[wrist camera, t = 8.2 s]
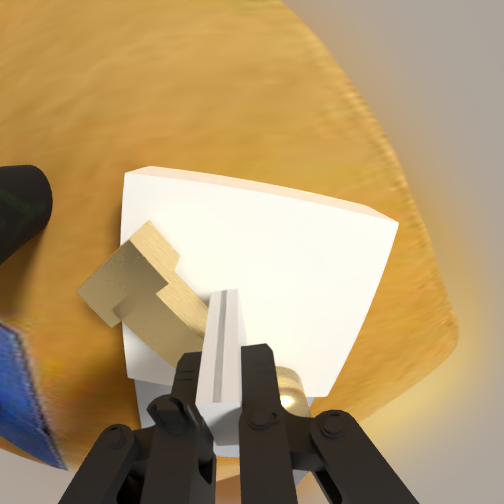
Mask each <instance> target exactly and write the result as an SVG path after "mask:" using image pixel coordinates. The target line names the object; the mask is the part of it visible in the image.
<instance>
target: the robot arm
mask: <svg viewBox="0 0 504 504" xmlns="http://www.w3.org/2000/svg"><path fill="white" fill-rule="evenodd" d="M146 410H147V412H148V413H149V415H150V416H151V418H152V419H153V421H154V422H155V425H153V426H150V427H147V428H143V429H138V430H134V431H132V430H131V429H130V428H129V427H128V426H126V425H123V424H115V425H111V426H109V427H107V428H106V429H105V430H104V431H103V432H102V433H101V434H100V436H99V438H98V439H97V441H96V442H95V444H94V446H93V447H92V449H91V450H90V452H89V453H88V455H87V457H86V458H85V460H84V462H83V463H82V465H81V466H80V468H79V470H78V471H77V473H76V474H75V476H74V478H73V479H72V481H71V483H70V484H69V486H68V488H67V489H66V491H65V493H64V494H63V496H62V498H61V500H60V501H59V503H58V504H215V488H216V463H217V459H216V455H215V453H214V451H213V446H214V442H215V443H216V445H217V446H229V445H239V457H240V482H241V504H298V501H297V495H296V489H295V483H294V477H293V471H292V469H294V470H302V471H311V472H312V473H313V475H314V477H315V479H316V480H317V482H318V484H319V486H320V488H321V490H322V491H323V493H324V495H325V497H326V498H327V500H328V502H329V503H330V504H419V503H418V501H417V500H416V499H415V498H414V496H413V495H412V494H411V492H410V491H409V490H408V489H407V487H406V486H405V485H404V483H403V482H402V481H401V479H400V478H399V477H398V476H397V474H396V473H395V472H394V471H393V469H392V468H391V467H390V465H389V464H388V463H387V461H386V460H385V459H384V457H383V456H382V455H381V453H380V452H379V451H378V449H377V448H376V447H375V445H374V444H373V443H372V441H371V440H370V439H369V438H368V436H367V435H366V434H365V432H364V431H363V430H362V428H361V427H360V426H359V424H358V423H357V422H356V420H355V419H354V418H353V417H352V416H351V415H350V414H349V413H347V412H344V411H342V410H328V411H324V412H322V413H320V414H319V415H317V416H316V417H315V418H311V417H301V416H296V415H294V414H291V413H289V412H288V411H287V410H286V409H285V408H284V407H283V405H282V403H281V399H280V392H279V386H278V380H277V373H276V367H275V361H274V354H273V350H272V349H271V348H270V347H269V346H268V344H267V343H263V344H256V345H248V346H247V333H246V328H245V323H244V318H243V313H242V308H241V303H240V297H239V292H238V288H236V289H229V290H222V291H214V292H211V298H210V304H209V310H208V317H207V323H206V330H205V337H204V344H203V350H202V351H200V352H188V353H184V354H183V356H182V357H181V358H180V359H179V361H178V363H177V367H176V374H175V376H174V382H173V385H172V390H171V394H166V395H161V396H159V397H157V398H155V399H154V400H153V401H152V402H150V403H149V405H148V407H147V409H146Z"/></svg>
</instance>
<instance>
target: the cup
mask: <svg viewBox="0 0 504 504" xmlns="http://www.w3.org/2000/svg"><path fill="white" fill-rule="evenodd" d="M52 202H53V200H52V191H51V188H50V184H49V182H48V180H47V178H46V176H45V175H44V173H43V172H42V171H41V170H40V169H38V168H37V167H35V166H32V165H18V166H4V167H0V265H1V264H2V263H3V262H4V261H5V260H6V259H7V258H8V257H10V256H11V255H12V254H13V253H14V252H15V251H16V250H18V249H19V248H20V247H21V246H22V245H23V244H25V243H26V242H27V241H28V240H30V239H31V238H32V237H33V236H34V235H36V234H37V233H38V232H40V231H41V230H42V229H43V228H44V227H45V226H46V225H47V223H48V221H49V219H50V216H51V212H52Z"/></svg>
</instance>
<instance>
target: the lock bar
mask: <svg viewBox="0 0 504 504" xmlns="http://www.w3.org/2000/svg"><path fill="white" fill-rule="evenodd" d="M179 258H180V255H179V254H178V253H177V252H176V250H175V249H174V248H173V247H172V246H171V245H170V244H169V242H168V241H167V240H166V239H165V238H164V237H163V236H162V234H161V233H160V232H159V231H158V230H157V228H156V227H155V226H154V225H153V224H152V223H151V221H150V220H148V221H147V222H146V223H145V224H144V225H143V226H141V227H140V228H139V229H138V230H137V231H136V232H135V233H134V234H133V235H132V236H130V237H129V238H128V239H127V240H126V241H125V242H124V243H123V244H122V245H121V246H120V247H119V248H118V249H117V250H116V251H115V252H114V253H112V254H111V255H110V256H109V257H108V258H107V259H106V260H105V261H104V262H103V263H102V264H101V265H100V266H99V267H98V268H97V269H96V271H95V272H94V273H93V274H92V275H91V276H90V277H89V278H88V279H87V280H86V281H85V283H84V284H83V285H82V286H81V287H80V288H79V289H78V290H77V291H76V292H77V294H78V295H79V296H80V297H81V298H82V299H83V300H84V301H85V302H86V303H87V304H88V305H89V306H90V307H91V308H92V309H93V311H94V312H95V313H96V314H97V315H98V316H99V317H100V318H101V319H102V320H103V321H104V322H105V323H106V324H107V325H109V326H110V327H111V328H113V327H114V326H115V325H117V324H118V323H119V322H120V321H122V322H123V323H124V324H125V325H126V326H127V327H128V328H129V329H130V330H131V331H132V332H134V333H135V334H136V335H137V336H138V337H139V338H140V339H141V340H142V341H143V342H144V343H146V344H147V345H148V346H149V347H150V348H151V349H152V350H153V351H155V352H156V353H157V354H158V355H159V356H160V357H162V358H163V359H164V360H165V361H166V362H168V363H169V364H170V365H171V366H172V367H174V368H175V369H176V367H177V363H178V361H179V359H180V358H181V357H182V356H183V354H184V353H188V352H200V351H202V350H203V344H204V337H205V330H206V323H207V317H208V310H209V307H208V306H207V305H206V304H205V303H204V302H203V301H202V300H201V299H200V298H199V297H198V296H197V295H196V294H195V293H194V291H193V290H192V289H191V288H190V287H189V286H188V285H187V284H186V283H185V282H184V281H183V280H182V279H181V278H180V276H179V275H178V274H177V273H176V272H175V271H174V270H175V267H176V265H177V263H178V260H179ZM275 367H276V373H277V380H278V386H279V392H280V399H281V403H282V405H283V407H284V408H285V409H286V410H287V411H288V412H289V413H291V414H294V415H296V416H301V417H311V413H310V409H309V406H308V402H307V399H306V395H305V392H304V388H303V385H302V381H301V378H300V376H299V375H298V374H297V373H296V372H295V371H293V370H292V369H289V368H286V367H281V366H275Z"/></svg>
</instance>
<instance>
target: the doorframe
mask: <svg viewBox="0 0 504 504" xmlns="http://www.w3.org/2000/svg"><path fill="white" fill-rule="evenodd" d="M148 220H150V221H151V223H152V224H153V225H154V226H155V227H156V228H157V230H158V231H159V232H160V233H161V234H162V236H163V237H164V238H165V239H166V240H167V241H168V242H169V244H170V245H171V246H172V247H173V248H174V249H175V250H176V252H177V253H178V254H179V255H180V258H179V260H178V263H177V265H176V267H175V270H174V271H175V272H176V273H177V274H178V275H179V276H180V278H181V279H182V280H183V281H184V282H185V283H186V284H187V285H188V286H189V287H190V288H191V289H192V290H193V291H194V293H195V294H196V295H197V296H198V297H199V298H200V299H201V300H202V301H203V302H204V303H205V304H206V305H207V306H208V307H209V304H210V298H211V292H214V291H222V290H229V289H236V288H238V292H239V297H240V303H241V308H242V313H243V318H244V323H245V328H246V333H247V346H248V345H256V344H263V343H267V344H268V346H269V347H270V348H271V349H272V350H273V354H274V361H275V366H281V367H286V368H289V369H292V370H293V371H295V372H296V373H297V374H298V375H299V376H300V378H301V381H302V385H303V388H304V392H305V395H306V399H307V402H308V406H309V408H310V406H311V404H312V402H313V400H314V398H315V397H327V395H328V393H329V391H330V390H331V388H332V386H333V384H334V382H335V380H336V378H337V376H338V374H339V373H340V371H341V369H342V367H343V365H344V363H345V361H346V359H347V356H348V354H349V352H350V350H351V348H352V346H353V344H354V342H355V340H356V337H357V335H358V333H359V331H360V328H361V326H362V324H363V322H364V319H365V317H366V314H367V312H368V310H369V307H370V305H371V302H372V300H373V297H374V295H375V292H376V290H377V287H378V284H379V282H380V279H381V276H382V274H383V271H384V268H385V265H386V262H387V259H388V257H389V254H390V251H391V247H392V244H393V241H394V238H395V235H396V232H397V228H398V225H399V223H398V222H396V221H394V220H393V219H391V218H389V217H387V216H385V215H383V214H381V213H379V212H377V211H376V210H374V209H372V208H370V207H368V206H365V205H361V204H357V203H353V202H349V201H345V200H341V199H337V198H333V197H328V196H324V195H320V194H315V193H311V192H306V191H301V190H297V189H292V188H287V187H282V186H277V185H272V184H266V183H261V182H256V181H250V180H244V179H238V178H233V177H226V176H220V175H214V174H207V173H200V172H193V171H186V170H178V169H170V168H162V167H153V166H148V167H144V168H141V169H137V170H134V171H130V172H127V173H125V179H124V190H123V202H122V218H121V242H120V246H121V245H122V244H123V243H124V242H125V241H126V240H127V239H128V238H129V237H130V236H132V235H133V234H134V233H135V232H136V231H137V230H138V229H139V228H140V227H141V226H143V225H144V224H145V223H146V222H147V221H148ZM122 327H123V339H124V350H125V359H126V367H127V375H128V378H132V379H134V380H135V388H136V396H137V403H138V409H139V415H140V421H141V427H142V429H143V428H147V427H150V426H153V425H155V422H154V421H153V419H152V418H151V416H150V415H149V413H148V412H147V410H146V409H147V407H148V405H149V403H150V402H152V401H153V400H154V399H155V398H157V397H159V396H161V395H166V394H171V390H172V385H173V382H174V376H175V374H176V369H175V368H174V367H172V366H171V365H170V364H169V363H168V362H166V361H165V360H164V359H163V358H162V357H160V356H159V355H158V354H157V353H156V352H155V351H153V350H152V349H151V348H150V347H149V346H148V345H147V344H146V343H144V342H143V341H142V340H141V339H140V338H139V337H138V336H137V335H136V334H135V333H134V332H132V331H131V330H130V329H129V328H128V327H127V326H126V325H125V324H124V323H123V322H122ZM213 451H214V453H215V455H216V456H224V457H239V445H229V446H217V445H216V443H215V442H214V446H213ZM292 471H293V477H294V483H295V486H296V485H297V484H298V483H299V482H300V481H301V480H302V479H303V478H304V476H306V474H307V473H308V472H309V471H302V470H294V469H292Z"/></svg>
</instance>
